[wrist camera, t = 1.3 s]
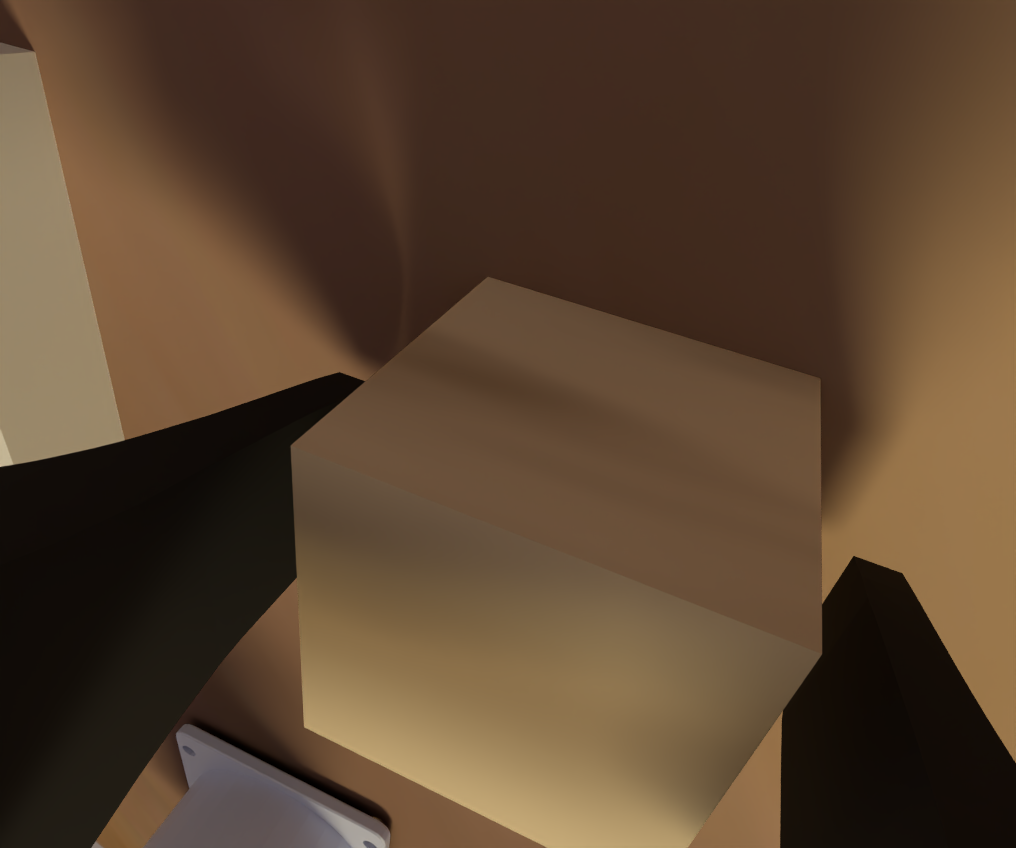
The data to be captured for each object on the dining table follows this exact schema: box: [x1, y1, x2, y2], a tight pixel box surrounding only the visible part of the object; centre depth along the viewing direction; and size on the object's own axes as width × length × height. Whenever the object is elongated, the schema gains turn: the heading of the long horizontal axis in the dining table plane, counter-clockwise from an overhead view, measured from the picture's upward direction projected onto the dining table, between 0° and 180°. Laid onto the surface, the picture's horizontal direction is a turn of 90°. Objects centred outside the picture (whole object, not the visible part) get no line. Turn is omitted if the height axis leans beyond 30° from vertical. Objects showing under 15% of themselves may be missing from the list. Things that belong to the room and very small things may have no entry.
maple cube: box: [291, 277, 822, 848], centre depth 9 cm, size 5×5×5 cm
